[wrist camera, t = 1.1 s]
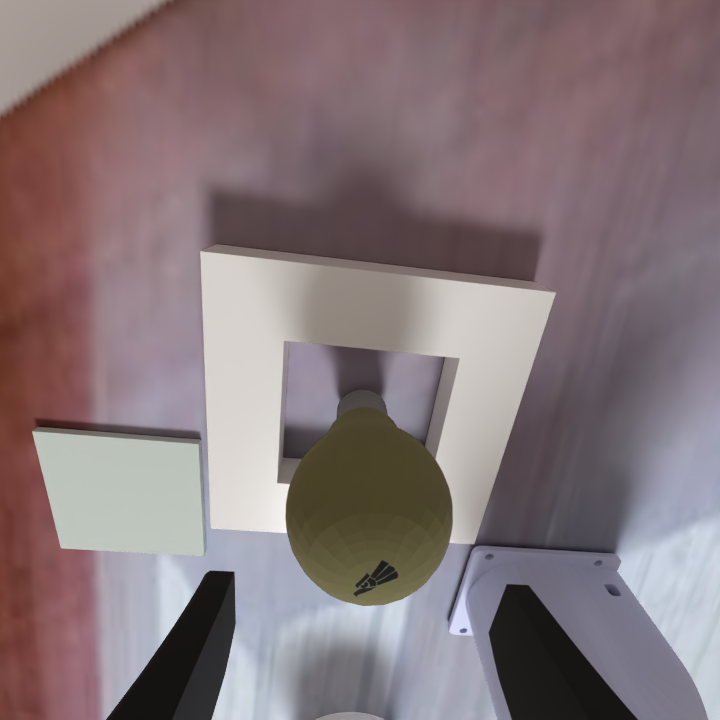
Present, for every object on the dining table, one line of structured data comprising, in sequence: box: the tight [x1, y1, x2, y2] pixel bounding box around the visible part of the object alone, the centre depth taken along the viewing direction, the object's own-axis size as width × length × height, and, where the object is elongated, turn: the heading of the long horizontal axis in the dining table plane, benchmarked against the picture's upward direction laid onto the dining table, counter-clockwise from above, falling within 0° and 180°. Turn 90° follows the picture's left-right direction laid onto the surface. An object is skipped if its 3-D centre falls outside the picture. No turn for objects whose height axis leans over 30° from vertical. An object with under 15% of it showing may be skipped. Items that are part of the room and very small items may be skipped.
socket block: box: [200, 244, 556, 544], centre depth 19 cm, size 14×14×2 cm
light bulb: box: [285, 390, 453, 606], centre depth 15 cm, size 6×6×10 cm
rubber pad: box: [32, 427, 206, 556], centre depth 22 cm, size 8×8×1 cm
